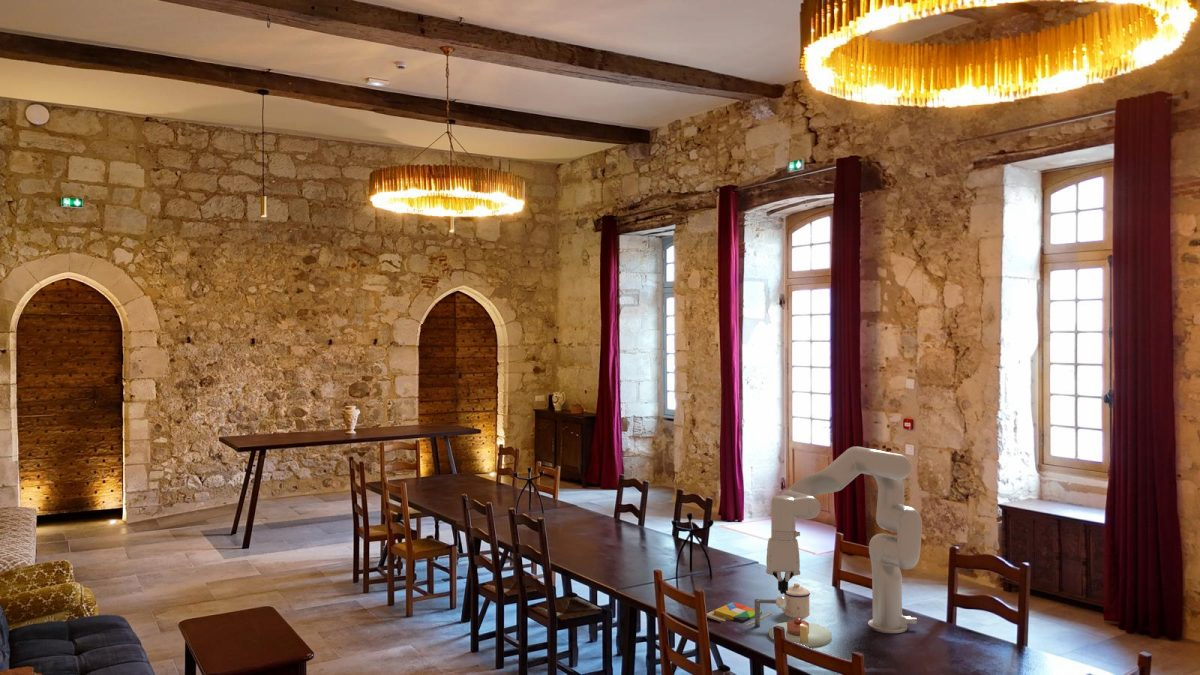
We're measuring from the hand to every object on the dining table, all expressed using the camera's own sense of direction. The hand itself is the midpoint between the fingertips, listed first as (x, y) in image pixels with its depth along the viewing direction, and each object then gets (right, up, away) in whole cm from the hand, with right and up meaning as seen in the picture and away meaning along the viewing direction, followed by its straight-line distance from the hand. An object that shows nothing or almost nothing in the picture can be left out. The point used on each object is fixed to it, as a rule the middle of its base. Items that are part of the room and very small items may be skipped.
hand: (783, 592), depth 274 cm
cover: (+7, -15, +8) cm, 19 cm away
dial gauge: (-1, -18, +18) cm, 25 cm away
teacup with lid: (+10, -18, +30) cm, 36 cm away
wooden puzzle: (-10, -19, +31) cm, 37 cm away
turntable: (+7, -17, +8) cm, 20 cm away
